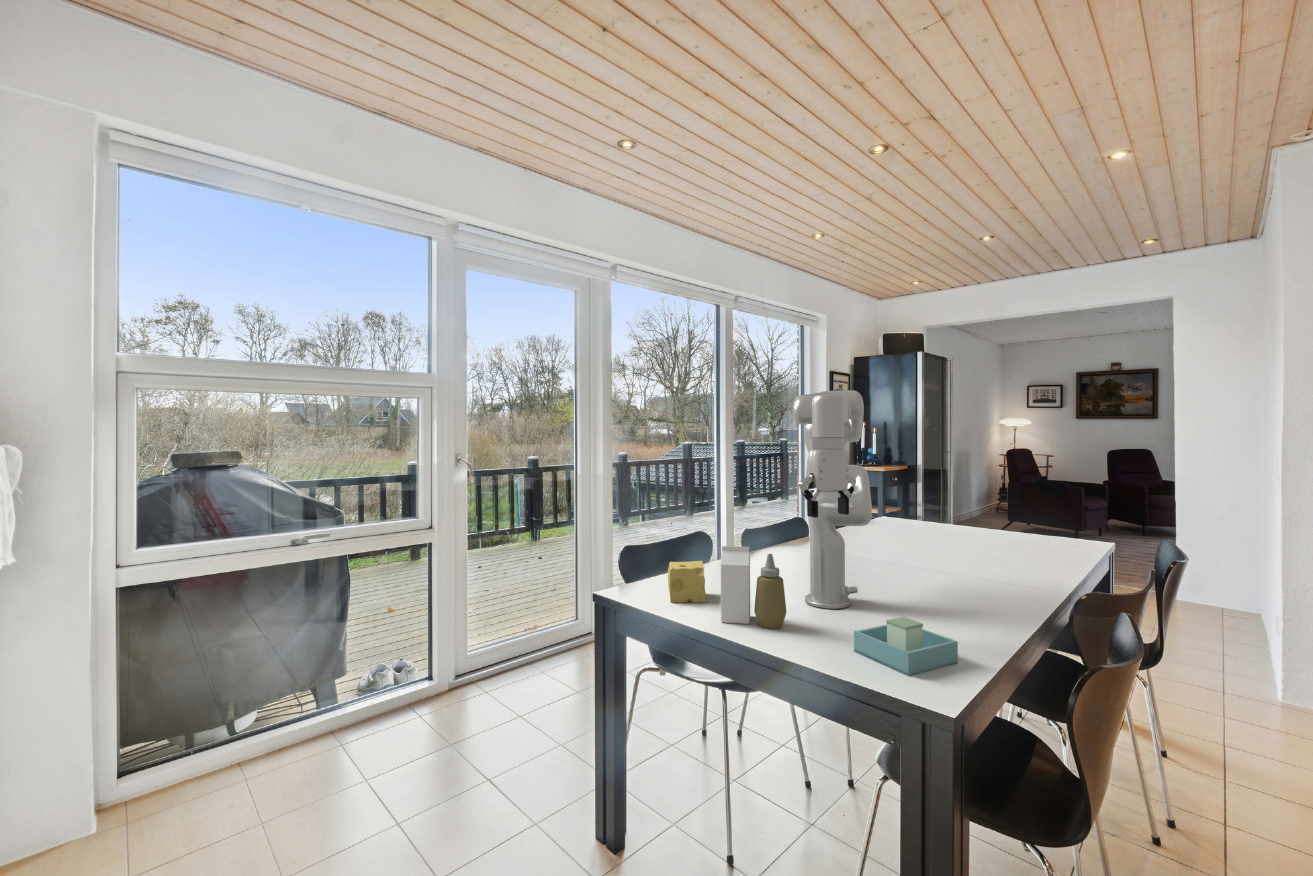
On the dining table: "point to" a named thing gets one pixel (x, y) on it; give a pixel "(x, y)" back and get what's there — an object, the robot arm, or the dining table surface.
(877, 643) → the bin
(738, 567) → the milk carton
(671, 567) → the cheese
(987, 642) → the dining table surface
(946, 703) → the dining table surface
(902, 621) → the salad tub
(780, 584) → the squeeze bottle
